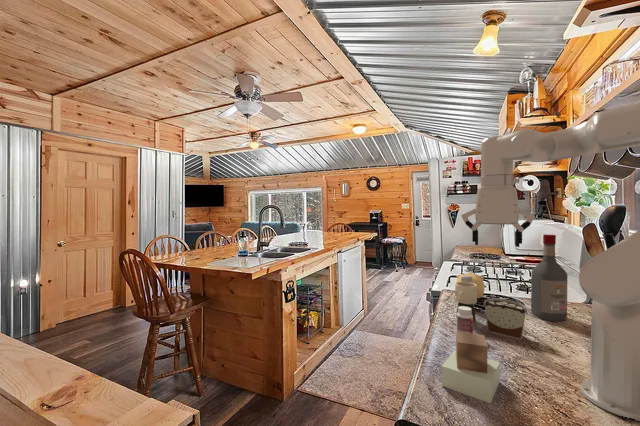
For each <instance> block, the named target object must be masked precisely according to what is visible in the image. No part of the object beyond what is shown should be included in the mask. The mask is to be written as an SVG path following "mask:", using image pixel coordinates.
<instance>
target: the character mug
mask: <svg viewBox="0 0 640 426" xmlns="http://www.w3.org/2000/svg"><path fill="white" fill-rule="evenodd" d="M454 284H455V285H454V291H455V294H454V300H455V301H456V302H457V303H458V304H457V309H456V313H455V314H456V315H455V317H456V319H457V313H458V307H460V306H465V307H470V308H471V309H472V315H473V322H475V321H476V318H477V317H476V312H475V311H476V310H475V304H477V302H478V299H477V285H476V284H474V283H470V282H456V281H455V283H454ZM473 304H474V306H473Z"/></svg>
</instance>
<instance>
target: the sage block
mask: <svg viewBox="0 0 640 426" xmlns="http://www.w3.org/2000/svg"><path fill="white" fill-rule="evenodd" d="M500 367H501V362H500V361H496V360H493V359H489V358H487V373H482V372H476V371H470V370H465V369H459V368H457V361H456V349H454V350H453V351H452V353H450V355H449V357H448V358H447V359H446V360H445V361H444V363H443V364H442V365H441V387H444V388H447V389H449V390H453V391H455V392H458V393H460V394H463V395H466V396H469V397H471V398H475V399H478V400H479V401H483V402H486V403H488V404H492V401H493V399H494V397H495V394H496V392H497V390H498V387H499V386H500V382H501V379H500V378H501V374H500V373H501V368H500Z"/></svg>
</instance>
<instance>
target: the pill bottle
mask: <svg viewBox="0 0 640 426" xmlns="http://www.w3.org/2000/svg"><path fill="white" fill-rule="evenodd" d="M457 307H458V306H457ZM456 314H457V318H456V332H462V333H470V334H474V321H473V315H472V309H471V308H470V307H465V306H460V307H458V313H457V312H456Z"/></svg>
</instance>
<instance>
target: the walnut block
mask: <svg viewBox="0 0 640 426" xmlns="http://www.w3.org/2000/svg"><path fill="white" fill-rule="evenodd" d="M455 333H456V334H455V347H456V348H455V350H456V361H457V368H459V369H465V370H470V371H476V372H482V373H487V359H488V351H489V349H488V343H487V341H486V338H485V335H483V334H476V333H473V334H470V333H462V332H457V331H456V332H455Z"/></svg>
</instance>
